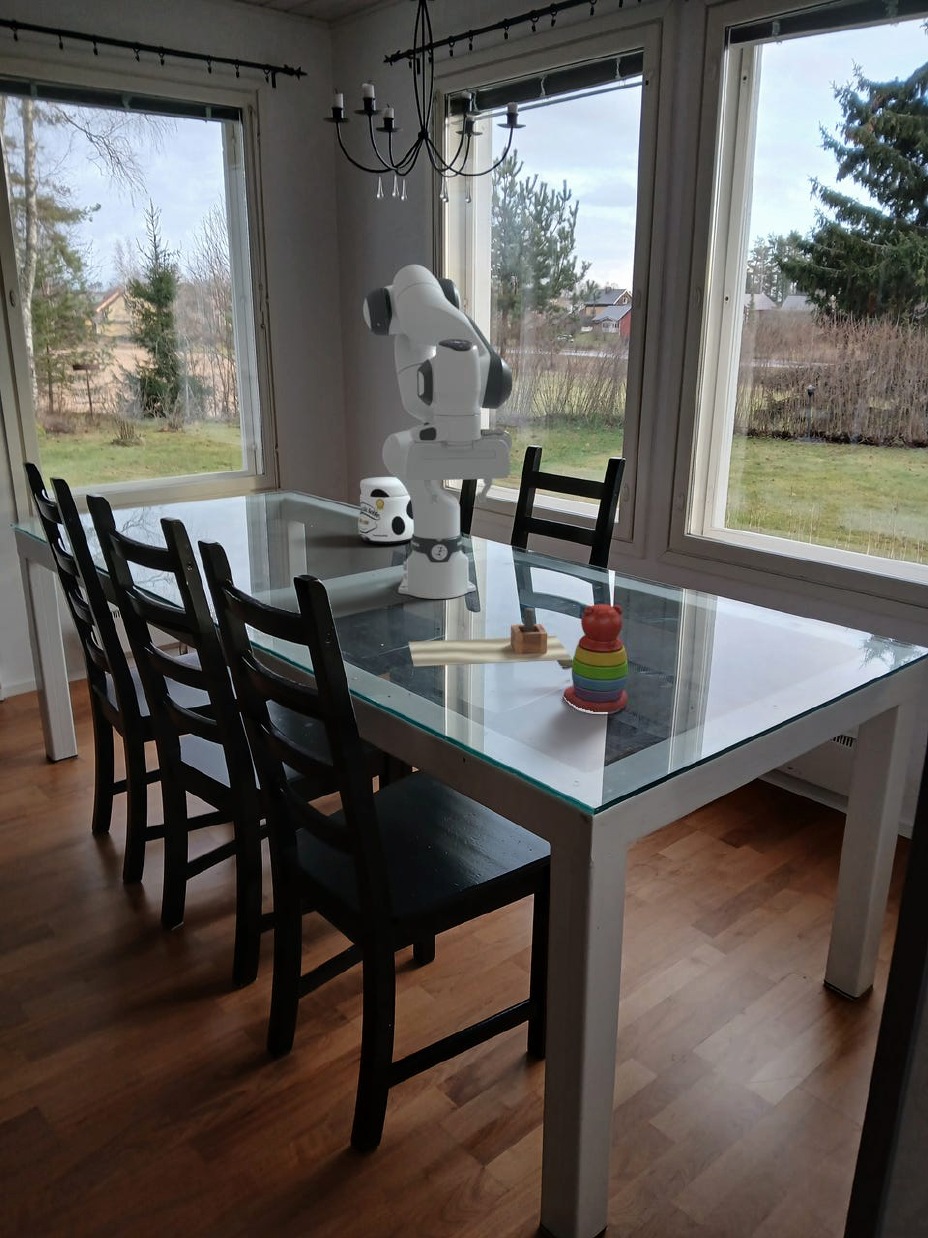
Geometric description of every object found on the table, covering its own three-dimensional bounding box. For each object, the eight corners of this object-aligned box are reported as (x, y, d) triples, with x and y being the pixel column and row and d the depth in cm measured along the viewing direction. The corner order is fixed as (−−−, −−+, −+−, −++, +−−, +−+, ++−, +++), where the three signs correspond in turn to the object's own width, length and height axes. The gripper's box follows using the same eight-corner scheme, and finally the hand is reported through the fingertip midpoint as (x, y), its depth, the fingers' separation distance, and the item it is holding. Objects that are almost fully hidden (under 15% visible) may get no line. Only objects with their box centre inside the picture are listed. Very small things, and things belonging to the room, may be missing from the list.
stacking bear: (622, 692, 166) (627, 595, 161) (635, 715, 156) (641, 613, 151) (561, 694, 165) (564, 596, 160) (571, 716, 156) (575, 614, 150)
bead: (510, 644, 186) (510, 625, 185) (540, 643, 187) (540, 623, 186) (516, 654, 180) (516, 634, 179) (546, 653, 181) (547, 633, 180)
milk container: (349, 545, 275) (347, 484, 270) (371, 533, 291) (370, 475, 286) (404, 549, 270) (403, 487, 265) (424, 536, 286) (424, 477, 281)
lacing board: (408, 649, 188) (407, 603, 185) (555, 642, 192) (557, 598, 189) (413, 673, 175) (413, 625, 172) (571, 666, 178) (573, 618, 175)
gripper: (508, 427, 181) (507, 498, 186) (402, 428, 179) (404, 500, 183) (514, 430, 175) (513, 504, 180) (405, 432, 173) (406, 506, 177)
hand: (457, 502), depth 181 cm, fingers open, 8 cm apart
